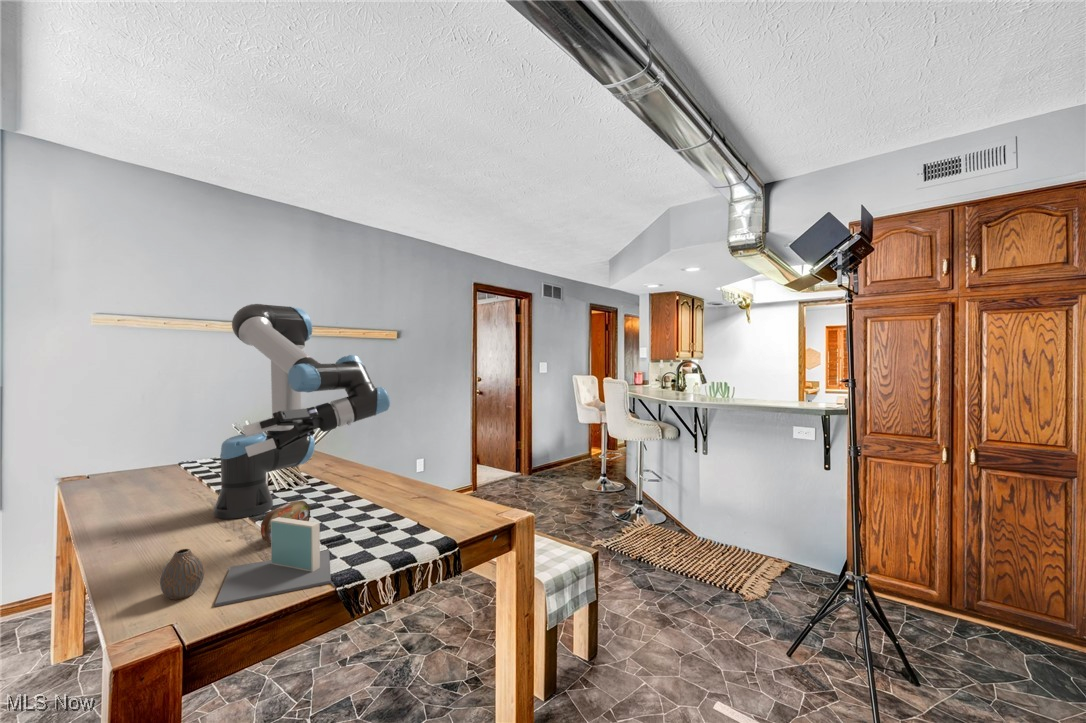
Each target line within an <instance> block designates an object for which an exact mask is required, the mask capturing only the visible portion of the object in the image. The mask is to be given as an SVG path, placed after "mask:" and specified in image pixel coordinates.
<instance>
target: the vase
mask: <svg viewBox="0 0 1086 723" xmlns="http://www.w3.org/2000/svg"><path fill="white" fill-rule="evenodd" d="M204 576H205V568H204V564H203V562H202V560H201V559H200V557H197V555H195V554H194V553H193V552H192V550H191V549H190V548H181V549H178V550H176V551H175V552H174V554H173V555H172V557H171V558H170V560H169V561H168V562H167V563H166V564H165V566H164V567H163V570H162V571H161V574H160V578H159V585H160V590H161V593H162V594H163V595H164V596H165V597H167V598H168V599H170V600H181V599H186V598H189V597H190V596H192V595H194V594H195V593H196V592H197V591H198V590H199V588H200V587H201V585H202V584H203V580H204Z"/></svg>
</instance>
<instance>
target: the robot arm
mask: <svg viewBox="0 0 1086 723" xmlns="http://www.w3.org/2000/svg"><path fill="white" fill-rule="evenodd" d="M231 327H232V330H233V333H234V335H235V337H236V338H237V339H239V341H241V342H242V343H243V344H245V345H247V346H252V347H254V348H255V349H257V350H258V351H259V352H260V353H261V354H263V356H265V357H266V358H268V359H269V361H270V376H271V378H270V381H271V388H270V389H271V417H269V418H266V419H263V420H259V421H256V422H252V423H249V424H246V425H243V426H242V429H243V432H244V433H242V434H238V435H234V436H231V437H229V438H227V439H225V440H224V441H223V442H222V444H221V449H220V455H219V457H220V477H221V478H220V482H221V484H220V485H221V487H220V491H219V495H218V498H217V501H216V503H215V506H214V512H213V513H214V517H215V518H217V519H222V520H223V519H225V520H229V519H231V520H233V519H241V518H242V519H243V518H247V517H252V515H253V516H257V515H259V514H263V513H266V512H269V510H271V509H272V508H273V506H274V504H273V503H274V502H273V497H272V494H271V492H270V489H269V487H268V484H267V473H270V472H274V471H279V470H283V469H288V468H289V469H290V468H295V467H298V466H300V465H304V464H306V463H308V462H309V461H310V459H311V458H313V455H314V452H315V447H316V440H315V437H314V435H315V434H316V432H315V430H317V429H320V431H321V432H323V433H326V432H329V431H332V430H334V429H337V427H343V426H346V425H347V426H350V425H352V423H356V422H359V421H361V420H364V419H367V418H371V417H375V416H377V415H380V414H382V413H384V412H387V411H388V410H389V408H390V406H391V400H390V397H389V396H390V395H389V394H388V392H387V390H386V389H385V388H384V387H383V386H379V387H378V386H376V387H375V385H374V384H373V382H372V380H371V377H370V375H369V373H368V371H367V368H366V365H364V363H363V361H362V360H361V358H360V357H359V356H358V355H355V354H349V355H345V356H342V357H340V358H339V359H338V360H336V362H335V363H321V362H319V361H317V360H316V359H314V358H313V357H311V356H310V355H309V354H308V353H306V352H305V351H304V350H303V349H304V348H305V346H306V342H308V341H309V340H310V339H311V337H312V335H313V322H312V319H311V318H310V315H309V314H308V313H307V312H306V311H305V310H303V309H301V308H299V307H294V306H293V307H292V306H285V305H284V306H283V305H273V304H272V305H271V304H262V303H254V304H253V303H251V304H246V305H245V306H243V307H241V308H240V309H239V310H237V311H236V313H235V314H234V315H233V317H232V320H231ZM335 390H338V391H339V390H344V391H345V392H346V394H347V396H345V397H341V398H338V399H333V400H331V401H330V402H325V403H322V404H321V403H320V404H318V405H315V406H310V407H307V408H302V393H314V392H323V391H325V392H326V391H335ZM265 432H266V433H265Z"/></svg>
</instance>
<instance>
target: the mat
mask: <svg viewBox="0 0 1086 723" xmlns="http://www.w3.org/2000/svg"><path fill="white" fill-rule="evenodd" d="M330 559H331V558H330V549H324V550H320V568H319V569H317V570H315V571H313V572H311V571H306V570H301V569H295V568H290V567H285V566H280V565H274V564H271V559H268V560H262V561H256V562H251V563H246V564H239V565H234V566H230V567H229V569H228V572H227V574H226V577H225V579H224V581H223V584H222V586H221V589H220V591H219V593H218V595H217V598H216V600H215V603H214V608H215V607H221V606H224V605H226V606H227V605H230V604H236V603H241V602H246V601H250V600H256V599H261V598H265V597H271V596H274V595H275V596H276V595H280V594H284V593H291V592H296V591H299V590H305V589H309V588H314V587H319V586H324V585H329V584H332V579H331V562H330V561H331V560H330Z"/></svg>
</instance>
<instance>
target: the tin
mask: <svg viewBox="0 0 1086 723" xmlns="http://www.w3.org/2000/svg"><path fill="white" fill-rule="evenodd" d="M278 517H281V518H288V519H295V520H302V521H309V522H310V518H311V508H310V506H309V504H308V503H307V502H306V501H305V500H295V501H290V502H288V503H285V504H284V505H281V506H280V507H276V508H275V509H272V510H271V511H268V513H266V514H265V515H264V517H263V519H262V520H261V524H260V536H261V538H262V540H263V541H264V542H266V543H268V544H271V520H272V519H275V518H278Z"/></svg>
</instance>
